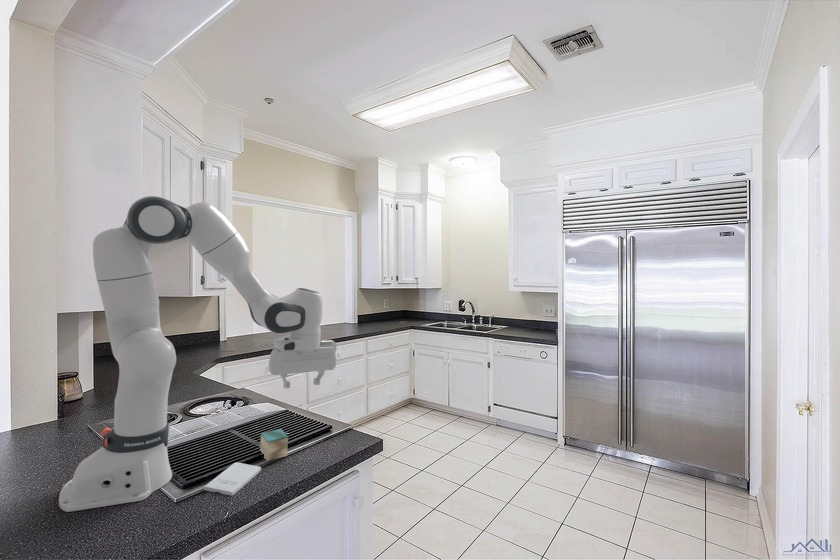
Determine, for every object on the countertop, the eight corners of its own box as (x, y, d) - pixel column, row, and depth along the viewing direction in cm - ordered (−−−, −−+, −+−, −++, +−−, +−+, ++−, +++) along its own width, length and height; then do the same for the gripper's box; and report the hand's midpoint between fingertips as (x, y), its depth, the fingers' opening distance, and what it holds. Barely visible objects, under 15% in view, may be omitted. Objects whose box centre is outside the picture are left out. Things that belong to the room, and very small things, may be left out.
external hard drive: (261, 472, 114) (232, 498, 102) (234, 467, 116) (203, 491, 103) (261, 466, 114) (232, 491, 102) (234, 461, 115) (203, 485, 103)
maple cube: (288, 436, 122) (286, 456, 123) (281, 428, 127) (279, 447, 127) (267, 441, 119) (266, 461, 119) (261, 433, 123) (260, 452, 124)
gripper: (332, 337, 134) (329, 379, 135) (268, 340, 122) (265, 386, 123) (341, 342, 129) (337, 385, 130) (274, 345, 117) (271, 393, 118)
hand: (301, 386), depth 126 cm, fingers open, 8 cm apart
